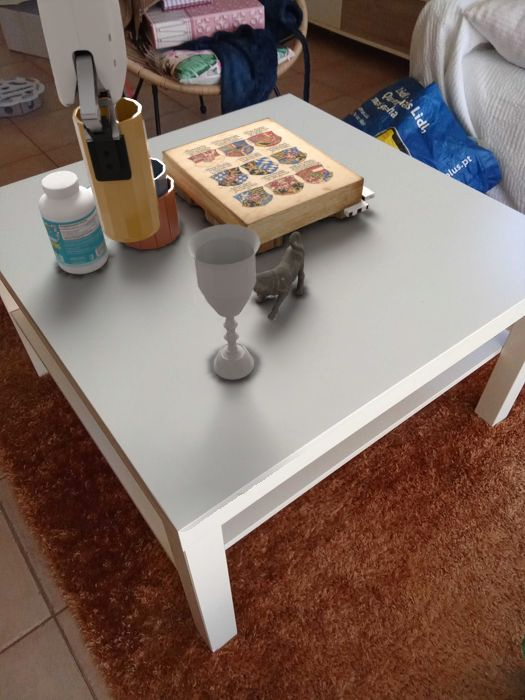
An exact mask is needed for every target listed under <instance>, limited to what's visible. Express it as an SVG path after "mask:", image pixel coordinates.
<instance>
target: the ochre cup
mask: <svg viewBox="0 0 525 700" xmlns="http://www.w3.org/2000/svg"><path fill="white" fill-rule="evenodd" d="M99 99H108V97H105V98H98V100H99ZM116 108H117V115H118V122H119V129H120V135H123V134H124V136H125V141H126V146H127V151H128V156H129V161H130V166H131V171H132V177H131V179H129V180H119V181H104V182H99V181H97V180H96V178H95V174H94V170H93V166H92V162H91V158H90V154H89V150H88V146H87V142H86V138H85V132H84V127H83V121H82V118H81V113H80V105H78V106H76V107H75V108H74V109H73V111H72V114H71V115H72V116H71V118H72V121H73V125H74V129H75V133H76V136H77V141H78V144H79V148H80V152H81V155H82V156H81V157H82V159H83V164H84V166H85V170H86V171H85V172H86V174H87V178H88V182H89V186H91V190H92V194H93V198H94V201H95V205H96V209H97V213H98V217H99V220H100V224H101V227H102V231H103V234H104V236H105V237H107V238H108V239H110V240H111V241H114V242H117V243H124V242H136V241H141V240H144V239H146V238H149V237H150V236H152V235H153V234H155V233H156V232H157V231H158V230H159V228H160V226H161V219H160V210H159V204H158V199H157V193H156V187H155V181H154V175H153V169H152V163H151V158H152V157H151V151H150V146H149V140H148V134H147V129H146V123H145V117H144V111H143V106H142V104H140V103H139V101H137V100H135V99H132V98H129V97H127V98H125V97H121V99H120V100H119V101H118V102H117V103H116ZM100 111H101V114H102V115H106V117H107V118H108V119H109V121H110V118H109V111H108V107H102V108H100Z"/></svg>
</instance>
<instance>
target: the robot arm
mask: <svg viewBox="0 0 525 700" xmlns="http://www.w3.org/2000/svg"><path fill="white" fill-rule="evenodd" d="M36 2H37V8H38V9H37V10H38V13H39V14H38V15H39V18H40V23H41V27H42V31H43V36H44V42H45V45H46V50H47V54H48V58H49V63H50V68H51V71H52V75H53V79H54V85H55V87H56V92H57V93H56V94H57V96H58V100H59V102H60V103H61V104H62V105H63V106H64V107H65V108H70V107H71V106H72V105H74V104H75V102H76V98H77V96H78V101H79V106H80V113H81V118H82V121H83V127H84V132H85V138H86V142H87V146H88V150H89V154H90V158H91V162H92V166H93V170H94V174H95V178H96V180H97V181H99V182H104V181H119V180H129V179H131V177H132V171H131V166H130V161H129V156H128V151H127V146H126V141H125V136H124V134H123V135H120V129H119V122H118V115H117V108H116V103H117V102H118V101H119V100H120V99H121V97H125V98H128V91H127V86H126V83H125V82H126V77H127V71H128V56H127V47H126V46H127V45H126V40H125V32H124V31H125V30H124V26H123V20H122V19H123V18H122V13H121V7H120V2H119V0H36ZM105 97H108V99H99V100H98V98H105ZM102 107H108V111H109V118H110V121H109V119H108V118H107V117H106V115H102V114H101V111H100V108H102Z"/></svg>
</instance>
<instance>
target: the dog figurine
mask: <svg viewBox="0 0 525 700" xmlns="http://www.w3.org/2000/svg"><path fill="white" fill-rule="evenodd" d="M302 241H303V237H302V235H301V233H300V232H299V231H293V233H291V234H290V236H289V245H290V246H288V247H287V248H286V249H285V251H284V253H283V257H282V259H281V261H280V262H279V264H278V266H276V267H274V268H272V269H269V270H266V271H262V272H258V273H256V283H255V286H254V288H253V292H254V293H255V294H256V296H257V297H256V298H255V301H256V302H257V303H262V302H263V301H264V300H266V298H267V297H269V296H273V297H276V296H277V298H276V300H275V303H274V304H273V306H272V307H271V310H270V312H269V313H268V314H267V316H266V317H267V319H268V320H269V321H271V322H273V321H275V320H276V315H277V314H278V313H279V309H280V307H281V305H282V303H284V300H285V299H286V298H287V296H288V295H289V294H290V292H291V290H292V288H293V283H294V282H295V281H296V279H297V282H296V287H295V294H296V295H300V296H301V295H302V294H303V293H304V289H303V288H304V284H305V276H306V275H305V256H306V251H305V249H304V246H303V243H302Z"/></svg>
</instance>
